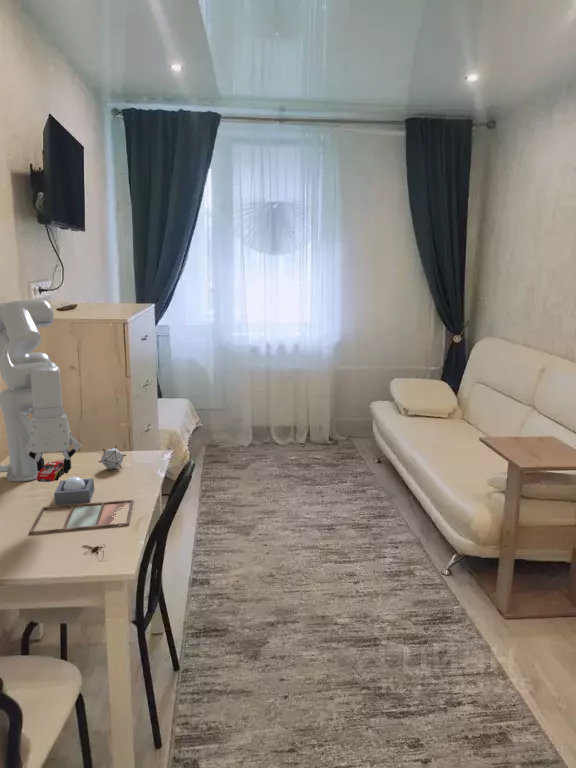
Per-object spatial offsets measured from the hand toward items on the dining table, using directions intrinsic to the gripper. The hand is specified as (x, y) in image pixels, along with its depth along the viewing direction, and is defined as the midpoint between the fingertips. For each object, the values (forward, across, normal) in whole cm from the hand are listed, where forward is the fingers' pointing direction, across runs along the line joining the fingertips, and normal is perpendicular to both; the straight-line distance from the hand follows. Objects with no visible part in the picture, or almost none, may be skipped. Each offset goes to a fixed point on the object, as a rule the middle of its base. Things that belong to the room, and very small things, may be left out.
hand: (54, 471), depth 155 cm
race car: (+1, 0, 0) cm, 1 cm away
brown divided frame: (+14, +7, 0) cm, 16 cm away
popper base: (+14, +2, +15) cm, 21 cm away
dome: (+14, +2, +15) cm, 21 cm away
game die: (+15, +10, +38) cm, 42 cm away
